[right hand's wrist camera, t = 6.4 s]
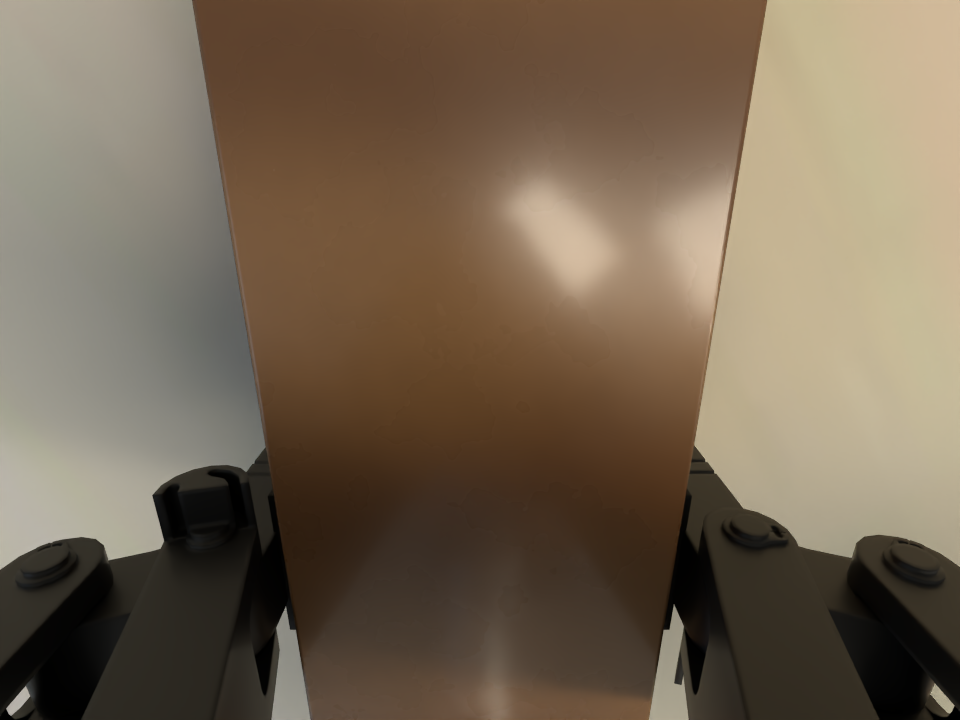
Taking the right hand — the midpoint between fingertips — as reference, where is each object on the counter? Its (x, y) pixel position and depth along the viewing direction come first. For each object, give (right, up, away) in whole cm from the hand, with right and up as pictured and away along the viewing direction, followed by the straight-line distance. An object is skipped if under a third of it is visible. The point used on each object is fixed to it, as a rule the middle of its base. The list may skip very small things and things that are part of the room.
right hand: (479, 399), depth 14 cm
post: (0, +22, -8) cm, 23 cm away
